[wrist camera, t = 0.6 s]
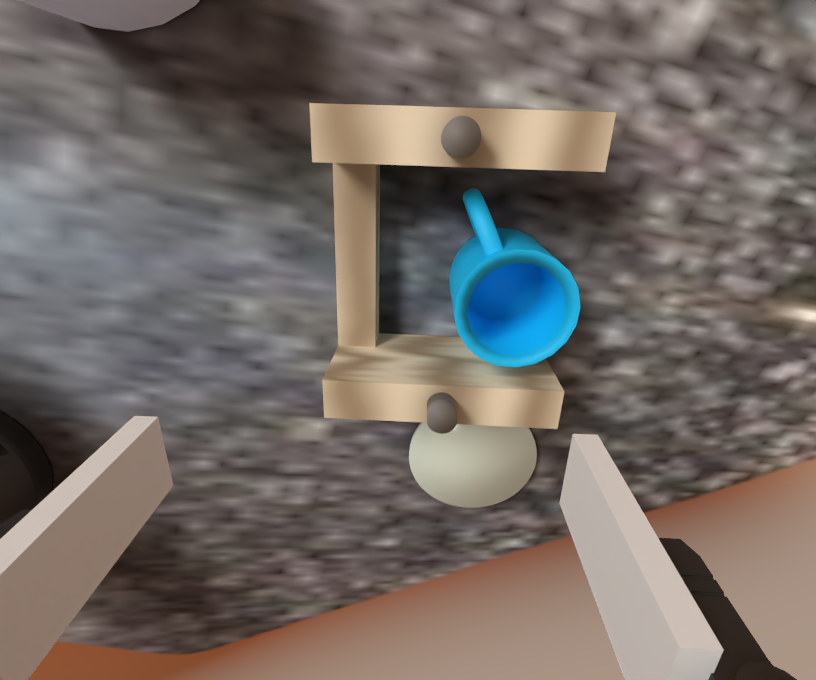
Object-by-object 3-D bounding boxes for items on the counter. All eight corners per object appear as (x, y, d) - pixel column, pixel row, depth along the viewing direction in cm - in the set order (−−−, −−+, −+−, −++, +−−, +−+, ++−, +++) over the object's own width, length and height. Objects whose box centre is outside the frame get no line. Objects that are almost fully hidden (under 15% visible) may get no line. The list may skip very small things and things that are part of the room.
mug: (562, 304, 38) (594, 342, 31) (469, 338, 40) (479, 383, 32) (516, 161, 34) (541, 166, 27) (415, 206, 36) (411, 222, 28)
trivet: (407, 498, 47) (407, 504, 46) (411, 395, 42) (411, 399, 41) (526, 505, 46) (527, 510, 46) (543, 401, 42) (545, 406, 41)
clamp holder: (345, 362, 41) (318, 433, 31) (339, 113, 33) (299, 99, 23) (531, 371, 41) (565, 446, 31) (569, 120, 33) (631, 109, 23)
